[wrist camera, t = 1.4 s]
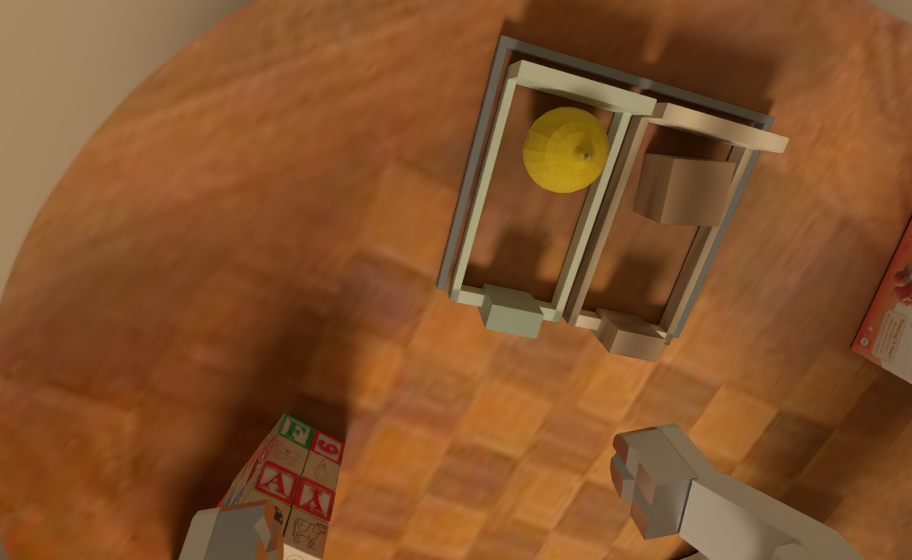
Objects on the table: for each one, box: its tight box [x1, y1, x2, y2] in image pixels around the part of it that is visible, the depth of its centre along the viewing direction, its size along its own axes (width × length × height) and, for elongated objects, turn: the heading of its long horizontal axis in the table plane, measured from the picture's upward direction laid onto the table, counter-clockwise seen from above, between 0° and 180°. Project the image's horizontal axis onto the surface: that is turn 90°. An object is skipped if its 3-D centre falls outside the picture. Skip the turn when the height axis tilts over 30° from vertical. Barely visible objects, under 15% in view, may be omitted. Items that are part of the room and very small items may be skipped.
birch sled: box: [563, 103, 789, 362], centre depth 37 cm, size 9×18×4 cm, turn 166°
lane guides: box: [436, 35, 775, 338], centre depth 37 cm, size 21×19×1 cm
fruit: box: [523, 107, 609, 193], centre depth 32 cm, size 6×6×8 cm
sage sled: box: [448, 60, 657, 339], centre depth 35 cm, size 9×18×4 cm, turn 166°
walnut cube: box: [633, 153, 736, 227], centre depth 36 cm, size 4×4×4 cm
